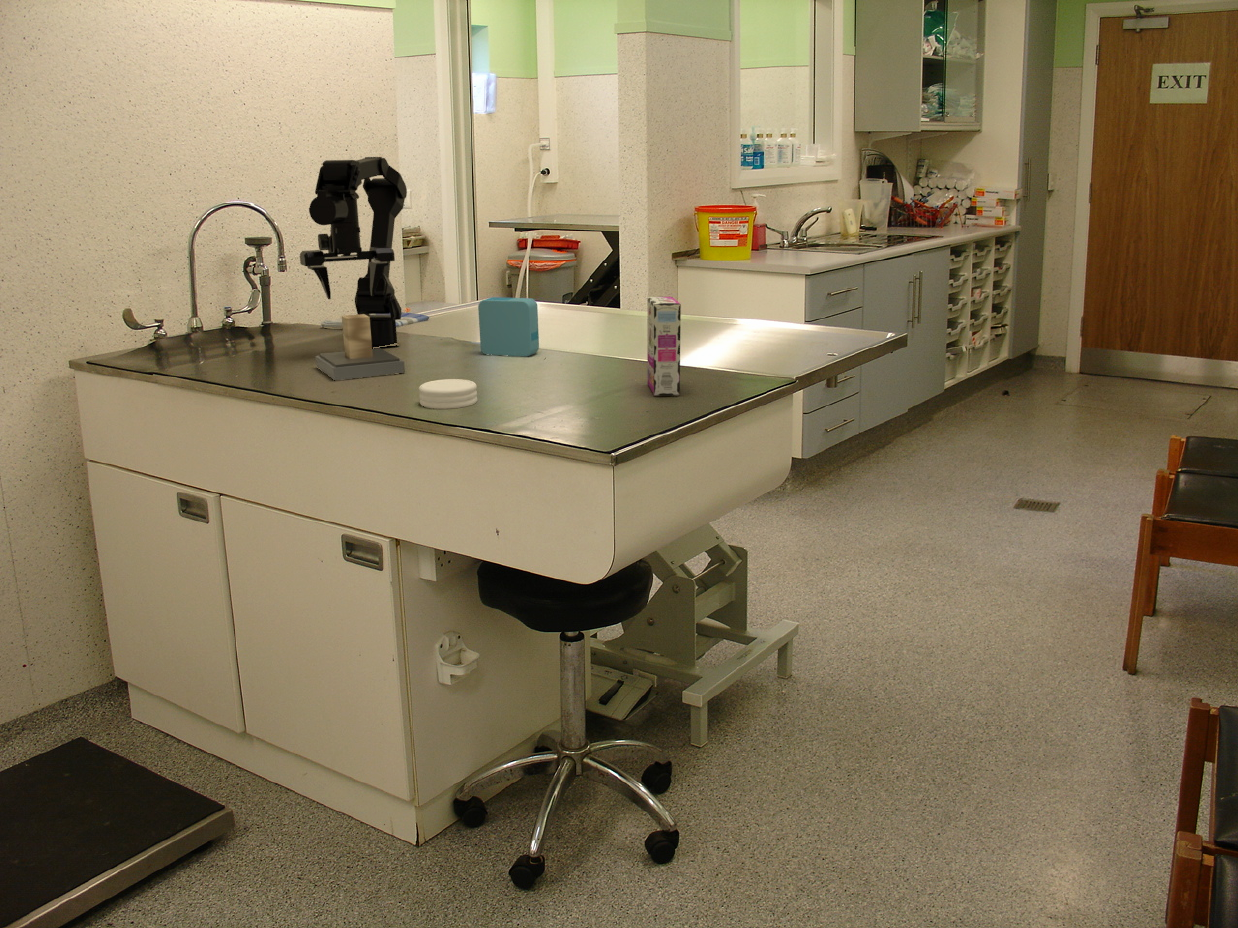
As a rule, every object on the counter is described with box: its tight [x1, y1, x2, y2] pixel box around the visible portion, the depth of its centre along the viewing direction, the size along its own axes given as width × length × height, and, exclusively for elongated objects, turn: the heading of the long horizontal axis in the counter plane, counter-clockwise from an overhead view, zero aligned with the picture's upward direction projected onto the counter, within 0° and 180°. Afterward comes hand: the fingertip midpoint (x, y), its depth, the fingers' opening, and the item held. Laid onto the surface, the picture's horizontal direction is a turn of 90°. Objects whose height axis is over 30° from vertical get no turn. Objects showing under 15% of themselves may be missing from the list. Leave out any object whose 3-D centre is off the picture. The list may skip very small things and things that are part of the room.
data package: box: [477, 296, 540, 358], centre depth 233 cm, size 12×4×12 cm, turn 71°
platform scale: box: [315, 348, 406, 381], centre depth 219 cm, size 14×16×3 cm
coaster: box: [418, 378, 478, 410], centre depth 189 cm, size 10×10×4 cm
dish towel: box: [320, 311, 430, 328], centre depth 281 cm, size 17×24×3 cm
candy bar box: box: [646, 296, 682, 397], centre depth 194 cm, size 11×5×16 cm, turn 5°
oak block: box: [341, 314, 373, 359], centre depth 217 cm, size 4×4×8 cm
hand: (351, 297), depth 230 cm, fingers open, 9 cm apart
